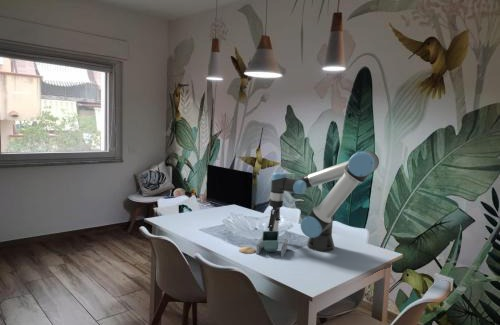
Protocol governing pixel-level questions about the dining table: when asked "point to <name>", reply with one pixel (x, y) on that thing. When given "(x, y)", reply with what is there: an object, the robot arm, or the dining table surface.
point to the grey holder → (283, 249)
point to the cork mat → (247, 250)
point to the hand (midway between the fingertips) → (272, 235)
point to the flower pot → (270, 240)
